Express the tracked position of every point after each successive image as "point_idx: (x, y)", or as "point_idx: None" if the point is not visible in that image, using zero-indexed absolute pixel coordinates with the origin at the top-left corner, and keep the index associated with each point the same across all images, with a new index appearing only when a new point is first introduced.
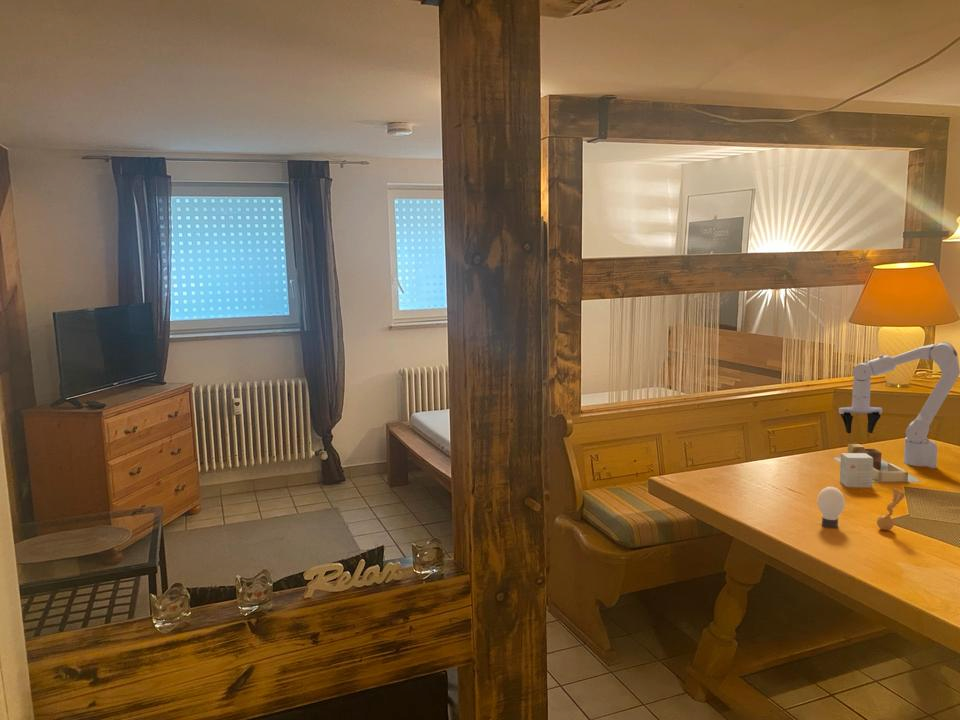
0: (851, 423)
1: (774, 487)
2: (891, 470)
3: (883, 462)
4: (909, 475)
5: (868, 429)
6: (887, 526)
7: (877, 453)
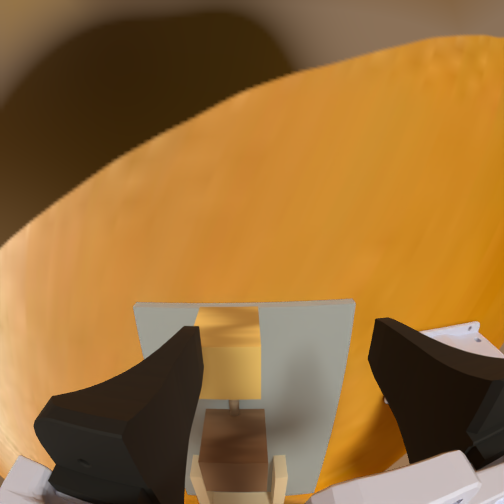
0: (186, 449)
1: (18, 451)
2: (273, 475)
3: (328, 374)
4: (317, 469)
5: (383, 340)
6: None
7: (250, 489)
